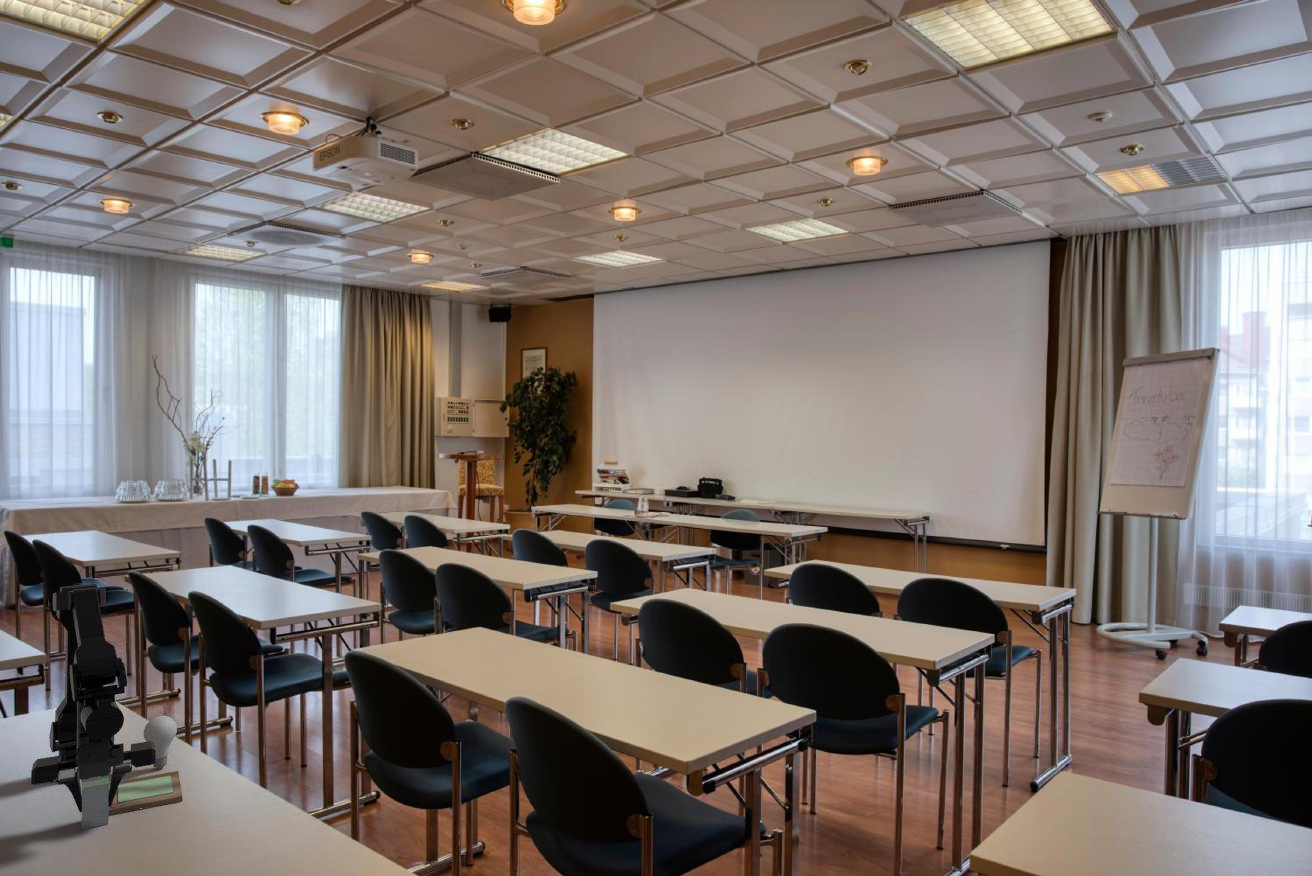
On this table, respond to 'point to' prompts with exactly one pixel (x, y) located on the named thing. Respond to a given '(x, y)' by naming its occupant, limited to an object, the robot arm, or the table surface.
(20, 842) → the table surface
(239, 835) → the table surface
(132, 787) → the stand plate
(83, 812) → the column
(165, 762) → the lightbulb
